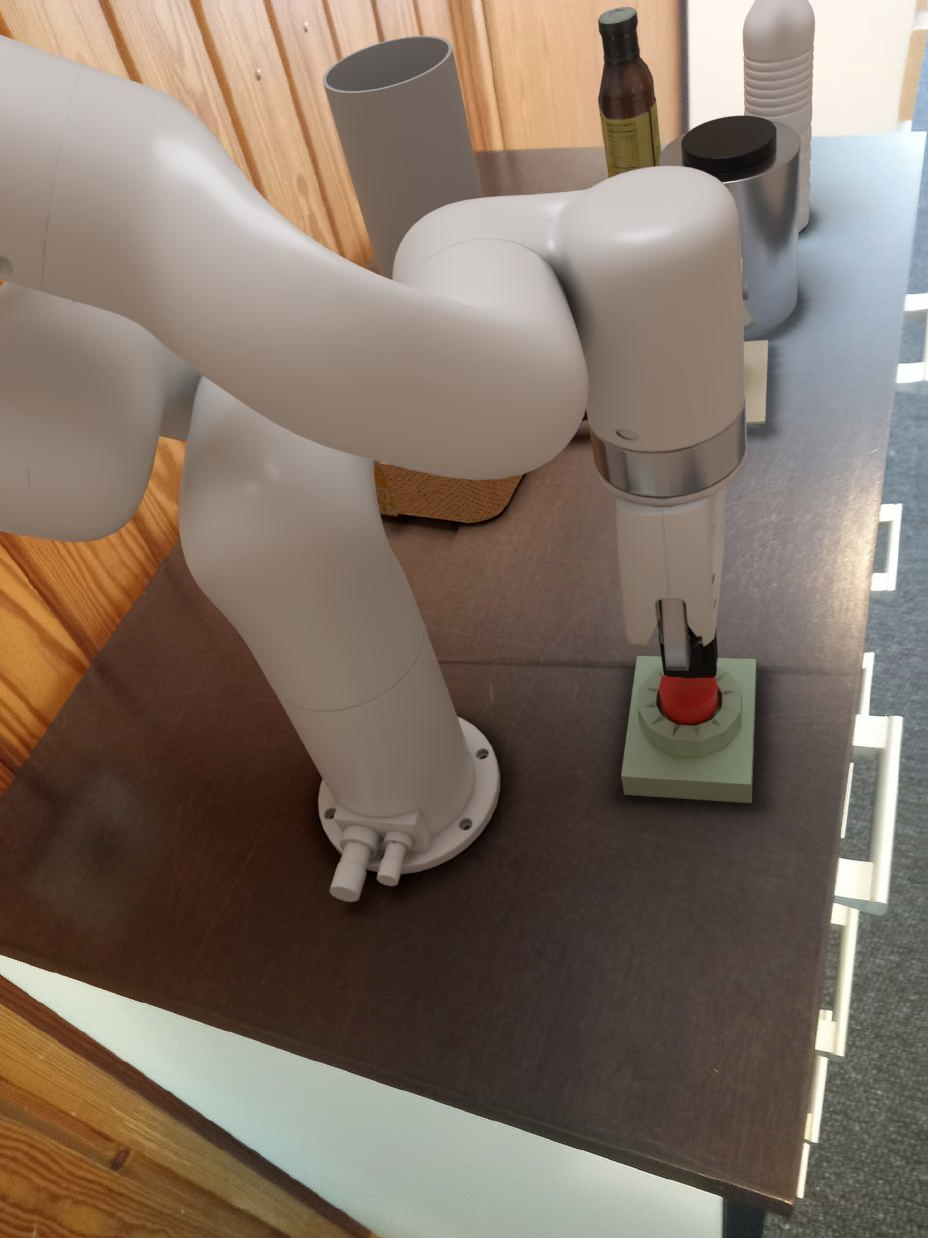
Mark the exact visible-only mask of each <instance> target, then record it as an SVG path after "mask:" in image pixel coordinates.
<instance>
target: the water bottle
mask: <svg viewBox="0 0 928 1238" xmlns="http://www.w3.org/2000/svg"><path fill="white" fill-rule="evenodd" d="M815 34H816V16H815V12H814V9H813V6H812V4H811V3H810V1H809V0H754V1H753V3H752V5H751V6H750V9H749V10H748V12H747V13H746V16H745V19H744V22H743V27H742V51H743V56H742V57H743V59H742V61H743V89H744V90H743V97H744V99H743V105H744V108H743V115H744V116H756V117H761V118H764V119H767V120H770V121H775V122H779V123H782V124H785V125H787V126H789V127H791V128H792V129H794V130H795V131H796V132H797V133H798V135H799V137H800V139H801V166H800V205H799V233H800V232H801V231H802V230H803V229H806V227H807V226H808V224H809V221H810V194H811V181H810V177H811V159H812V145H811V142H812V135H813V134H812V132H813V131H812V130H813V128H812V121H813V94H814V93H813V92H814V91H813V88H814V87H813V86H814V81H813V79H814V72H813V71H814V59H815V54H814V52H815V44H814V43H815Z"/></svg>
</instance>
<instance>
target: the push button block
mask: <svg viewBox="0 0 928 1238" xmlns="http://www.w3.org/2000/svg"><path fill="white" fill-rule="evenodd" d="M663 676H664V673H663V666H662V658H661V655H659V656H657V655H637V656H636V661H635V668H634V675H633V684H632V690H631V698H630V707H629V714H628V721H627V728H626V736H625V744H624V751H623V759H622V765H621V773H620V777H621V783H622V789H623V794H624V795H625V796H637V797H638V796H639V797H640V796H641V797H653V798H654V797H655V798H667V799H668V798H670V799H683V800H684V799H685V800H699V801H711V802H712V801H714V802H726V803H727V802H729V803H744V804H752V802H753V776H754V751H755V749H754V748H755V727H756V726H755V725H756V724H755V722H756V700H757V699H756V694H757V659H756V658H735V657H734V658H728V657H718V661H717V675H716V676H715V679H716V682H717V692H718V706H717V709H716V711H715V713H714V714H713V715H712V716H711V717H710V718H709V719H708V720H706V721H704V722H702V723H699V724H695V725H683V724H679V723H676V722H674V721H672V720H671V719H669V718H668V717H667V716H666V715H665V714H664V712H663V710H662V707H661V700H660V691H659V684H660V681H661V679H662V677H663Z"/></svg>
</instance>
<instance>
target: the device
mask: <svg viewBox="0 0 928 1238" xmlns="http://www.w3.org/2000/svg"><path fill="white" fill-rule="evenodd" d="M585 421H588V417H587V411H586V409H585V413H584V417H583V419H582V421H581V422H585ZM373 462H374V477H375V487H376V495H377V500H378V506H379V511H380V515H386V516H393V517H398V516H399V515H404V516H413V517H422V518H428V519H429V518H430V519H439V520H447V521H452V522H460V523H464V524H465V523H466V524H470V523H473V524H475V523H478V522H482V521H486V520H489V519H491V518H492V519H493V517H496V516H497V515H499V514H500V513H501V512H502V511H504V508H505V507H506V506H507V505H508V503H509V502H510V500H511V498H512V496H513V494H514V492H515V491H516V488H517V486H518V484H519V483H520V481H521V479H522V477H523V476H524V474H522V475H518V476H513V477H508V478H503V479H492V480H470V479H459V478H449V477H443V476H438V475H432V474H428V473H424V472H419V471H415V470H410V469H406V468H402V467H398V466H394V465H390V464H387V463H383V462H379V461H375V460H373Z"/></svg>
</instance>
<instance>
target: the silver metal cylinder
mask: <svg viewBox="0 0 928 1238" xmlns="http://www.w3.org/2000/svg"><path fill="white" fill-rule="evenodd" d="M659 166H682V167H690V168H694V169H697V170H700V171H703V172H705V173H708V174H710V175H712V176H714V177H716V178H717V179H718V180H719V181H721V182H722V183H723V184H724V185H725V186H726V187H727V188H728V190H729V191H730V193H731V195H732V196H733V198H734V200H735V202H736V206H737V209H738V213H739V223H740V234H741V258H743V282H748V288H749V291H748V300H743V311H744V338H747V337H750V336H754V335H758V334H760V333H763V332H766V331H768V330H771V329H772V328H775V327H776V326H778V325H780V324H781V323H783V322H784V321H785V320H787V318H789V317H790V315H792V313H793V311H794V310H795V308H796V306H797V303H798V285H799V284H798V283H799V282H798V280H799V279H798V278H799V240H800V239H799V238H800V232H799V205H800V166H801V139H800V137H799V135H798V133H797V132H796V131H795V130H794V129H792V128H791V127H789V126H787V125H785V124H782V123H779V122H775V121H770V120H767V119H764V118H761V117H756V116H744V114H743V115H729V116H723V117H719V118H715V119H711V120H708V121H704V122H702V123H700V124H698V125H696V126H694V127H693V128H691V129H690V130H688V131H686V132H685V133H682V134H680V135H679V136H678V137H676V138H675V139H673V140H671V141H670V142H669V143H668V144H667V145H666V146H665V147H664V148H663V149H662V150H661V155H660V158H659Z"/></svg>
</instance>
